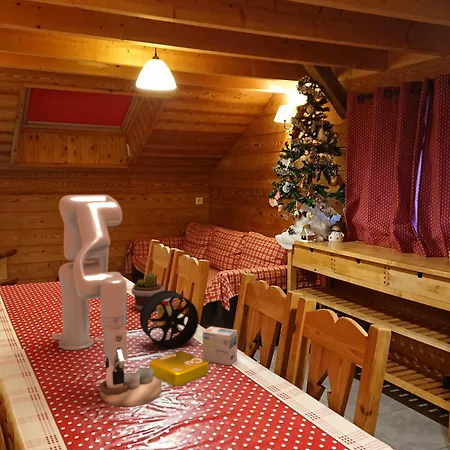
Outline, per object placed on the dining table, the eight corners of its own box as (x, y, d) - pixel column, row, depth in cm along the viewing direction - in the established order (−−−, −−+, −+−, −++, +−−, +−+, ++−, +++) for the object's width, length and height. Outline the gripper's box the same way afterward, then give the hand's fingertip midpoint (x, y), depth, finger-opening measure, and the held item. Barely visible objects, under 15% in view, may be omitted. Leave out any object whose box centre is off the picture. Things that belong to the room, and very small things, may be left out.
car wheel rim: (147, 353, 181) (147, 299, 178) (139, 344, 190) (139, 292, 187) (198, 345, 189) (198, 293, 187) (188, 336, 198) (188, 287, 196)
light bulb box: (237, 359, 176) (237, 329, 175) (229, 366, 170) (230, 335, 169) (210, 354, 180) (210, 325, 179) (201, 360, 174) (202, 330, 173)
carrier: (94, 406, 140) (94, 389, 140) (107, 379, 158) (107, 364, 158) (158, 406, 141) (158, 389, 140) (164, 379, 159) (164, 364, 158)
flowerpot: (127, 307, 239) (127, 266, 237) (158, 303, 245) (158, 264, 243) (135, 315, 226) (135, 272, 224) (167, 311, 232) (167, 269, 230)
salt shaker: (124, 389, 147) (123, 358, 146) (111, 392, 144) (110, 361, 143) (118, 384, 150) (117, 354, 149) (105, 387, 147) (105, 356, 146)
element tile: (180, 361, 174) (180, 348, 174) (211, 374, 164) (211, 360, 163) (146, 374, 163) (146, 360, 163) (176, 388, 153) (176, 373, 152)
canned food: (174, 328, 208) (174, 300, 207) (155, 328, 208) (155, 300, 207) (176, 322, 216) (176, 295, 215) (158, 322, 216) (158, 295, 215)
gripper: (135, 326, 139) (136, 387, 141) (118, 310, 154) (119, 365, 156) (108, 330, 135) (109, 392, 137) (93, 313, 150) (95, 369, 152)
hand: (114, 377), depth 147 cm, fingers open, 7 cm apart
